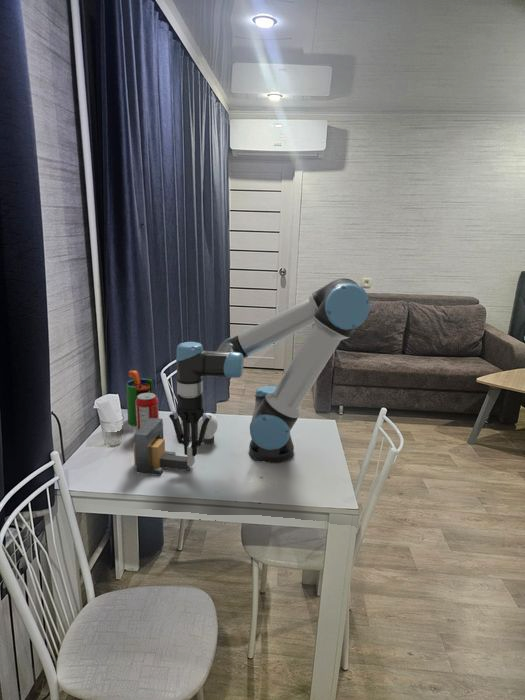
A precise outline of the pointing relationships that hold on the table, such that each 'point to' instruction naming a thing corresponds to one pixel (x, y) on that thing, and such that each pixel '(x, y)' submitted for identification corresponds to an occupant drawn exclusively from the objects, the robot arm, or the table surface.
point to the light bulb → (209, 429)
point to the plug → (165, 457)
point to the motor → (135, 394)
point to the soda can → (146, 408)
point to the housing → (148, 446)
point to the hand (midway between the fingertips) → (191, 463)
